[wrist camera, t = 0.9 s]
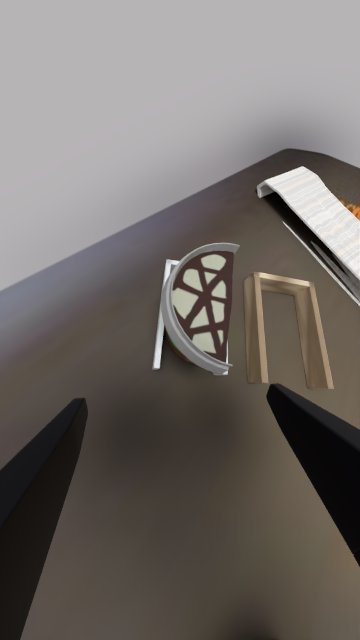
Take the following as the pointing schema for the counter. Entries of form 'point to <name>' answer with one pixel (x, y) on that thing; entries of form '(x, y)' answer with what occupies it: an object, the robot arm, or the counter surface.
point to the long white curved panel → (322, 221)
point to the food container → (200, 306)
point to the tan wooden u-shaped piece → (307, 323)
